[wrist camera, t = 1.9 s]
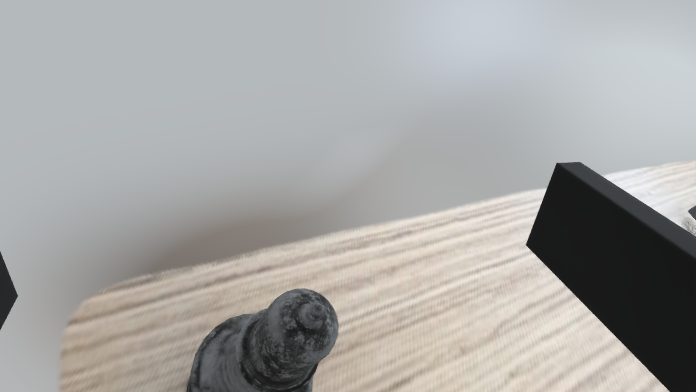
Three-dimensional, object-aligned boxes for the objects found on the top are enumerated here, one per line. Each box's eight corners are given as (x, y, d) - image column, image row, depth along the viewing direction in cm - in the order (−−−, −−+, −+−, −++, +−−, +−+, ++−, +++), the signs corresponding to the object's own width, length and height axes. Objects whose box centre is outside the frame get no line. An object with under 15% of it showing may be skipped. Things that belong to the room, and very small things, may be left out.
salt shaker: (155, 389, 22) (192, 294, 13) (243, 315, 26) (316, 205, 17) (232, 483, 21) (326, 448, 12) (311, 391, 25) (424, 316, 16)
